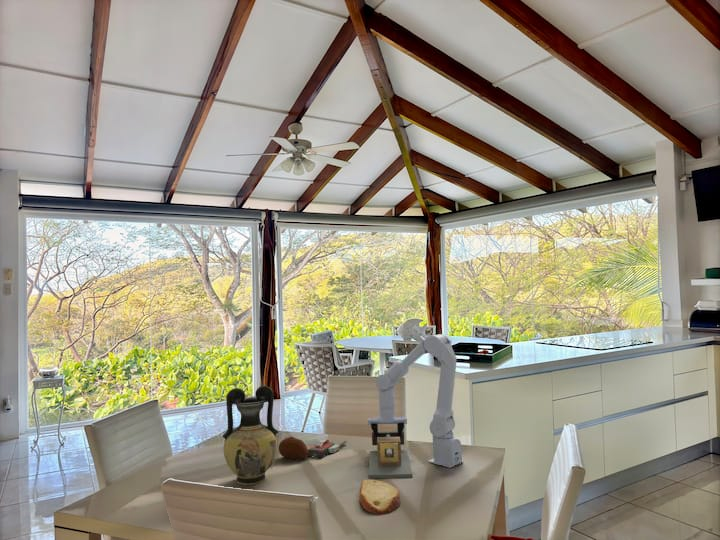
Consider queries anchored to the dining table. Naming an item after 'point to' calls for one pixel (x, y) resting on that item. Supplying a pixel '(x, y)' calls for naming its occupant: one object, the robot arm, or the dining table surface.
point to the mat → (389, 467)
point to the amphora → (250, 436)
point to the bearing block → (392, 440)
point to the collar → (386, 446)
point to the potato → (293, 448)
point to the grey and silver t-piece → (388, 434)
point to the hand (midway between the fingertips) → (388, 443)
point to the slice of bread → (378, 497)
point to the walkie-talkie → (324, 448)
